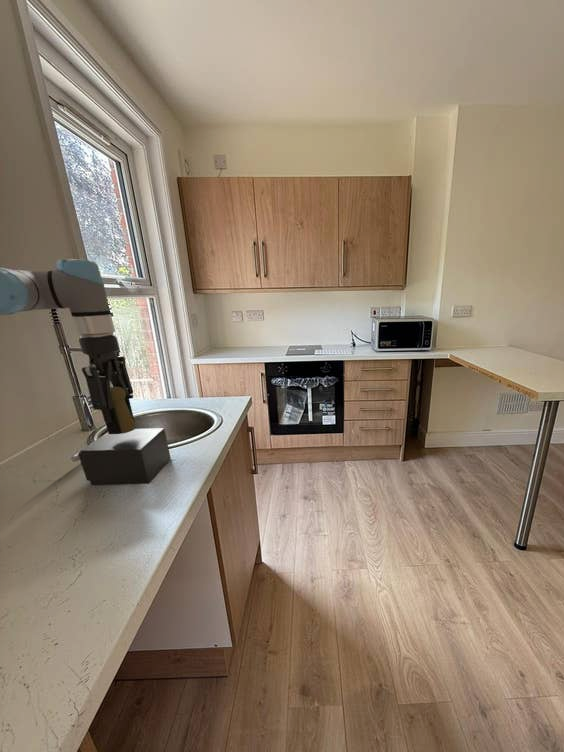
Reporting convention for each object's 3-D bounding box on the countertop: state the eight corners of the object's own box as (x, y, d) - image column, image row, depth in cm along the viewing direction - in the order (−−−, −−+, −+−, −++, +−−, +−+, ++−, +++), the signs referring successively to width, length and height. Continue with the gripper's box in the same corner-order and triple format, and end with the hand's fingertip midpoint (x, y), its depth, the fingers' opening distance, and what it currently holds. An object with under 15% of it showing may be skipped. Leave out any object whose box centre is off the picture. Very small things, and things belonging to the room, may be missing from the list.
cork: (137, 430, 88) (127, 388, 84) (110, 436, 85) (98, 392, 80) (134, 423, 92) (124, 383, 88) (108, 428, 89) (96, 387, 85)
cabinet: (91, 485, 87) (79, 450, 83) (120, 460, 100) (111, 429, 96) (149, 484, 87) (140, 449, 83) (171, 459, 100) (164, 428, 96)
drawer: (69, 481, 87) (59, 453, 84) (99, 458, 99) (91, 433, 96) (140, 479, 87) (133, 451, 84) (161, 457, 99) (155, 432, 96)
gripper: (104, 330, 88) (127, 415, 97) (50, 341, 71) (84, 444, 80) (134, 329, 88) (153, 415, 97) (87, 340, 71) (116, 443, 80)
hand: (122, 428), depth 88 cm, fingers closed on cork, 6 cm apart
